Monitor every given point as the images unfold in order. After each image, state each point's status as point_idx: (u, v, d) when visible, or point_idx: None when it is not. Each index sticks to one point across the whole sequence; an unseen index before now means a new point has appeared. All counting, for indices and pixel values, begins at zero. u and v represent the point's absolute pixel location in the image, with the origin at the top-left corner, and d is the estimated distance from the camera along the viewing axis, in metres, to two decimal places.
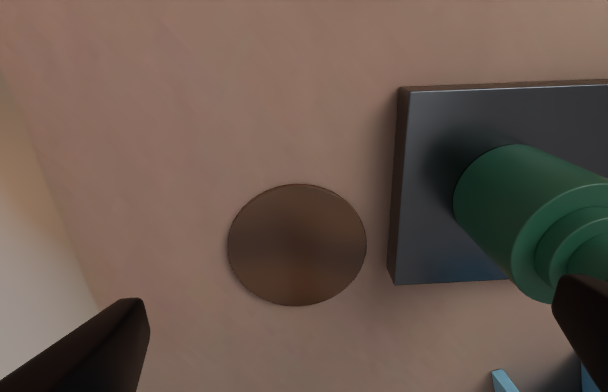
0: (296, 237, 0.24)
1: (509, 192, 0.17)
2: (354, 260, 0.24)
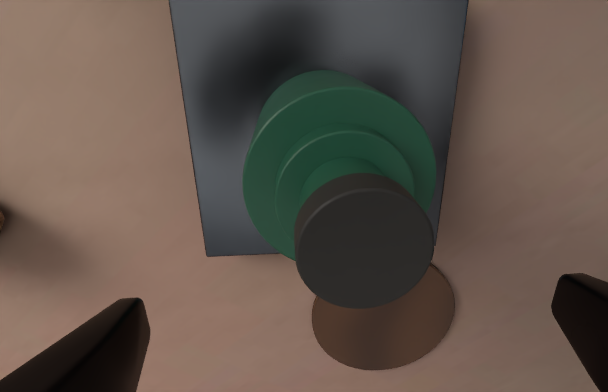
0: (368, 319, 0.23)
1: None
2: None
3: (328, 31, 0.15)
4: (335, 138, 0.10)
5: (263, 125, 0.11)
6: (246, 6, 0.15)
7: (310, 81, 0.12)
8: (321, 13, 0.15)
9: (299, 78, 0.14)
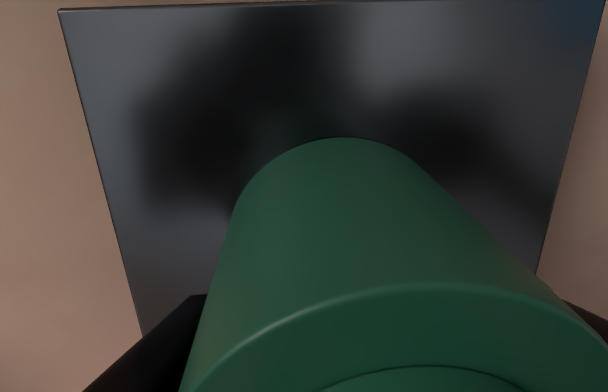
0: None
1: None
2: None
3: (351, 73, 0.09)
4: None
5: (205, 369, 0.04)
6: (203, 31, 0.08)
7: (323, 200, 0.06)
8: (338, 42, 0.08)
9: (299, 164, 0.08)
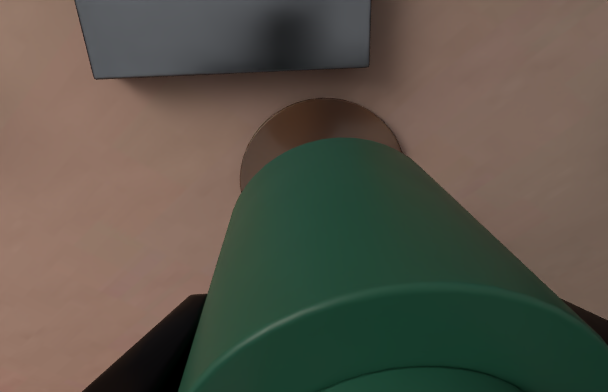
0: None
1: None
2: (341, 114, 0.19)
3: None
4: None
5: (204, 370, 0.04)
6: None
7: (322, 201, 0.06)
8: None
9: (299, 164, 0.08)
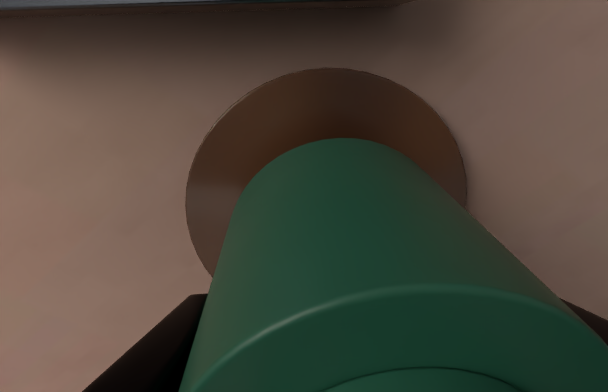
0: None
1: None
2: (361, 97, 0.10)
3: None
4: None
5: (204, 371, 0.04)
6: None
7: (323, 201, 0.06)
8: None
9: (299, 165, 0.08)
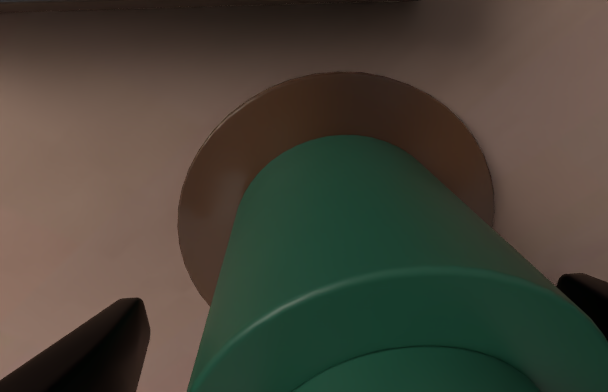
0: None
1: None
2: (377, 105, 0.09)
3: None
4: None
5: (219, 349, 0.04)
6: None
7: (328, 193, 0.06)
8: None
9: (304, 160, 0.08)
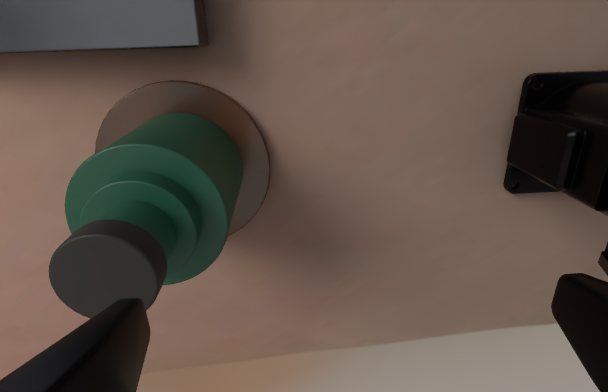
0: None
1: None
2: (192, 97, 0.18)
3: None
4: (118, 186, 0.12)
5: (74, 173, 0.13)
6: None
7: (134, 131, 0.15)
8: None
9: (145, 123, 0.17)
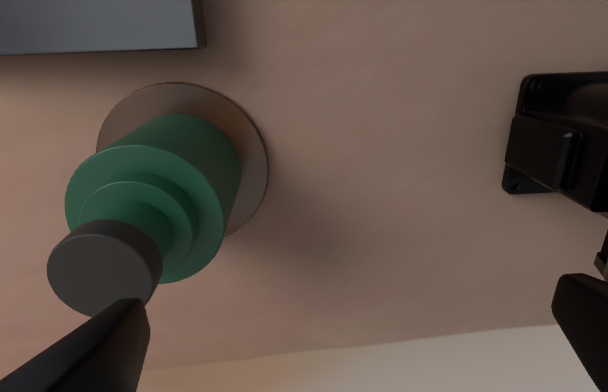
0: None
1: None
2: (191, 99, 0.18)
3: None
4: (116, 186, 0.13)
5: (74, 174, 0.13)
6: None
7: (133, 132, 0.15)
8: None
9: (145, 124, 0.17)
